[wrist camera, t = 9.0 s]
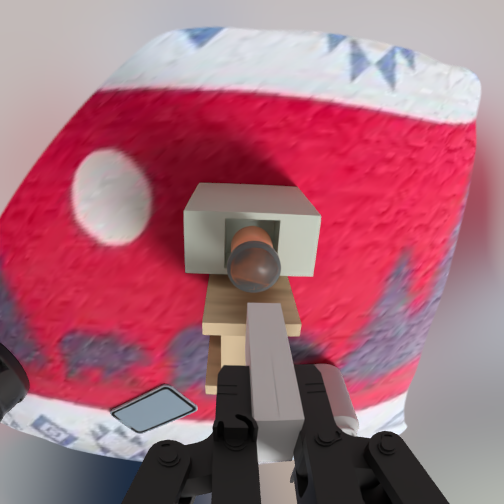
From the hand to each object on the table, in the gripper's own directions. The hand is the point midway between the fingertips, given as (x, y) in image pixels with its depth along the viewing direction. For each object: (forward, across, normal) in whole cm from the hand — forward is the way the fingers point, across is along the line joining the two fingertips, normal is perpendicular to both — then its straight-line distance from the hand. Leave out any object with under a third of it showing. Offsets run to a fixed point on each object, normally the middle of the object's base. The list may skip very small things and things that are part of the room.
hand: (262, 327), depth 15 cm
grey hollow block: (+20, 0, 0) cm, 20 cm away
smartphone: (+21, -14, -34) cm, 42 cm away
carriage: (+20, 0, -7) cm, 21 cm away
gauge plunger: (+10, 0, 0) cm, 10 cm away
